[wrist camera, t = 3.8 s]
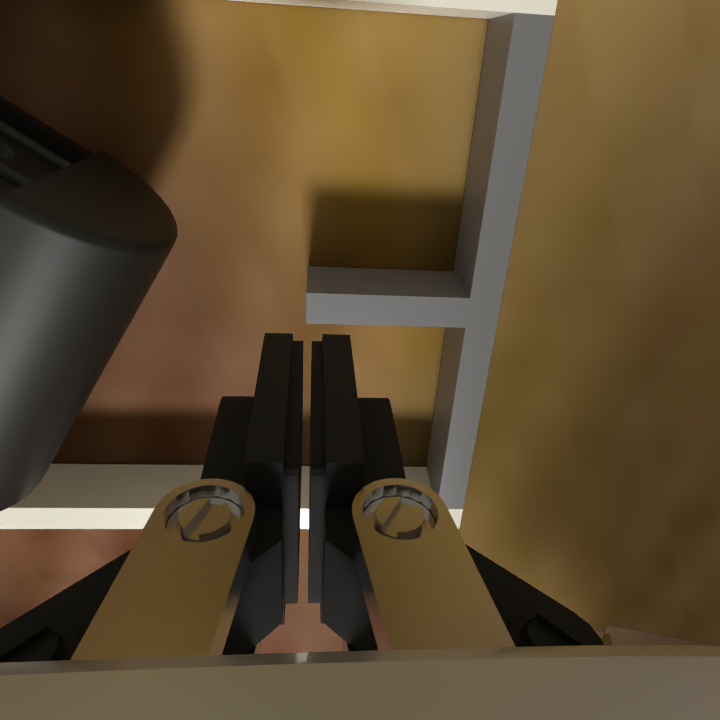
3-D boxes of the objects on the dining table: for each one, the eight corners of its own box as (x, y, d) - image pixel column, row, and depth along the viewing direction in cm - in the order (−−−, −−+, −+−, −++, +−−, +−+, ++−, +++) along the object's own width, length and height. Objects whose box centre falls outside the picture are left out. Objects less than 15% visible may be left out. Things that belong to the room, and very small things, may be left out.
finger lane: (530, -21, 16) (635, -61, 10) (446, 485, 24) (481, 605, 19) (-612, -109, 14) (-1211, -217, 8) (-267, 481, 22) (-455, 616, 17)
